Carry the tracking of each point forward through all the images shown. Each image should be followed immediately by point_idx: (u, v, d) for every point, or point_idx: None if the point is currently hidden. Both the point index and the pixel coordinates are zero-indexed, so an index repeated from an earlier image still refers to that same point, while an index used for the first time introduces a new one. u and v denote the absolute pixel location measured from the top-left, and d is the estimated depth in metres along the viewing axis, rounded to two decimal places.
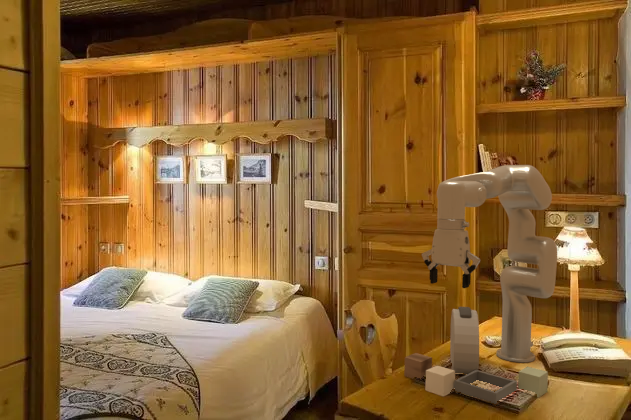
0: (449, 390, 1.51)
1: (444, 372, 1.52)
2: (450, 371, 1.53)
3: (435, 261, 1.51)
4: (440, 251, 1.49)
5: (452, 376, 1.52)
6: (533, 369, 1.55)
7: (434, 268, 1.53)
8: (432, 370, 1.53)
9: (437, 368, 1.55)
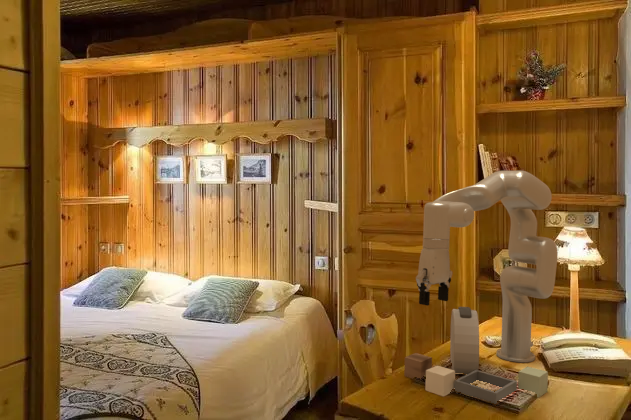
0: (449, 390, 1.51)
1: (444, 372, 1.52)
2: (450, 371, 1.53)
3: (433, 282, 1.51)
4: (438, 271, 1.52)
5: (452, 376, 1.52)
6: (533, 369, 1.55)
7: None
8: (432, 370, 1.53)
9: (437, 368, 1.55)
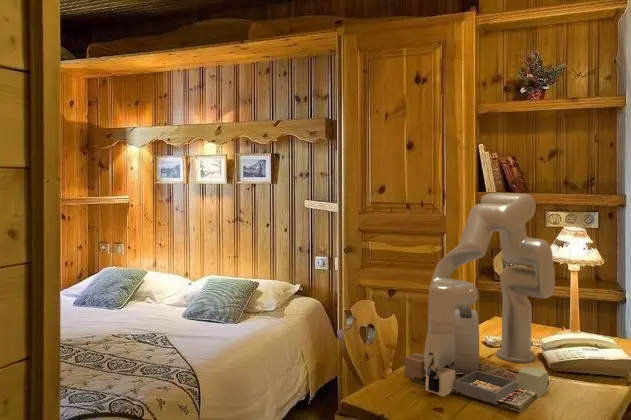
0: (449, 390, 1.51)
1: (444, 371, 1.52)
2: (450, 371, 1.53)
3: (440, 366, 1.49)
4: (444, 355, 1.50)
5: (452, 376, 1.52)
6: (533, 369, 1.55)
7: None
8: None
9: None
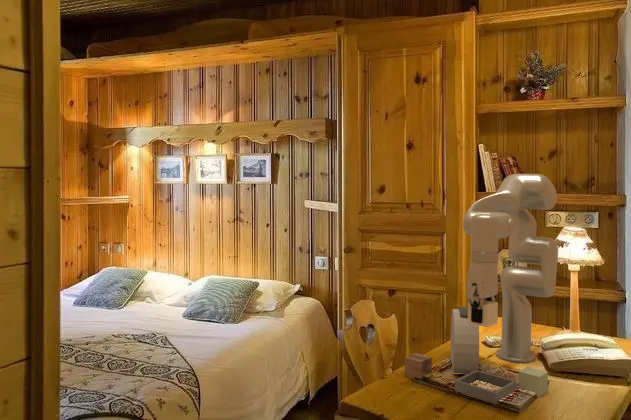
0: (492, 321, 1.49)
1: (486, 303, 1.50)
2: (493, 303, 1.50)
3: (483, 297, 1.47)
4: (488, 285, 1.48)
5: (495, 308, 1.50)
6: (533, 369, 1.55)
7: None
8: None
9: None
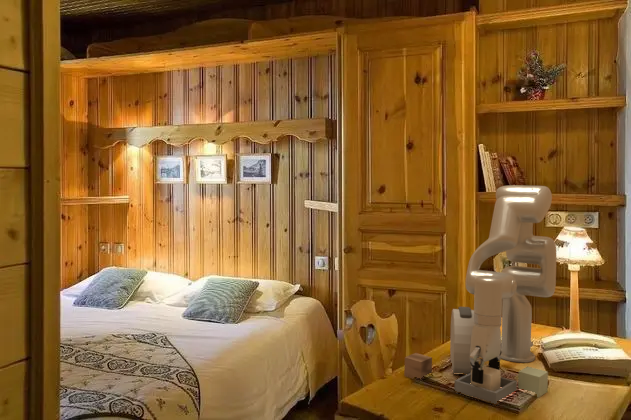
0: (495, 390, 1.50)
1: (490, 371, 1.51)
2: (496, 371, 1.51)
3: (487, 359, 1.48)
4: (491, 348, 1.48)
5: (498, 376, 1.51)
6: (533, 369, 1.55)
7: None
8: None
9: (482, 368, 1.53)
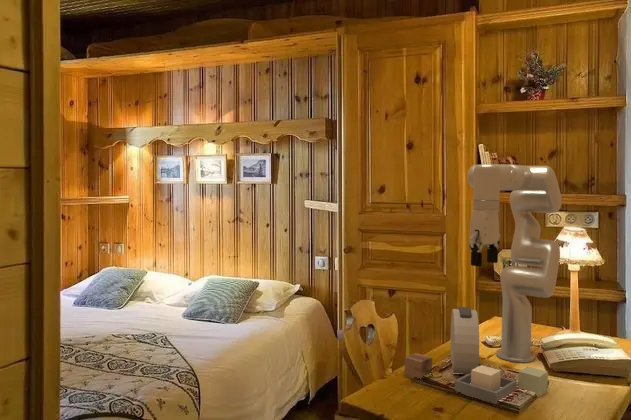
0: (495, 390, 1.50)
1: (490, 371, 1.51)
2: (496, 371, 1.51)
3: (485, 243, 1.52)
4: (489, 232, 1.53)
5: (498, 376, 1.51)
6: (533, 369, 1.55)
7: None
8: (478, 370, 1.52)
9: (482, 368, 1.53)
